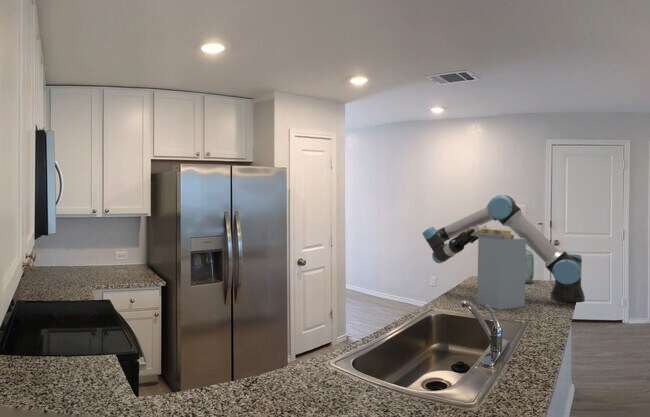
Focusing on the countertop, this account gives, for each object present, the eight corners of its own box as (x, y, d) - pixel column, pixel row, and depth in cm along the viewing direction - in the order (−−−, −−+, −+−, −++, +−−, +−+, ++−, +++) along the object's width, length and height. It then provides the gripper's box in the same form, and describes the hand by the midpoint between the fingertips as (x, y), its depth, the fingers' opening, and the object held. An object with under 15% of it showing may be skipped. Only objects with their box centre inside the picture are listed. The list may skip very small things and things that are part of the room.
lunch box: (485, 281, 285) (486, 245, 284) (486, 278, 294) (487, 244, 293) (533, 284, 274) (534, 248, 273) (533, 281, 284) (534, 246, 283)
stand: (477, 303, 226) (478, 233, 225) (501, 300, 233) (502, 232, 232) (499, 310, 214) (501, 235, 213) (524, 306, 221) (526, 234, 220)
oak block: (468, 235, 234) (468, 227, 234) (474, 235, 236) (474, 227, 236) (504, 239, 214) (504, 230, 213) (510, 239, 215) (510, 230, 215)
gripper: (469, 252, 248) (499, 233, 230) (443, 254, 240) (472, 234, 222) (464, 239, 251) (493, 219, 233) (438, 240, 244) (467, 220, 225)
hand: (483, 227), depth 228 cm, fingers open, 4 cm apart
